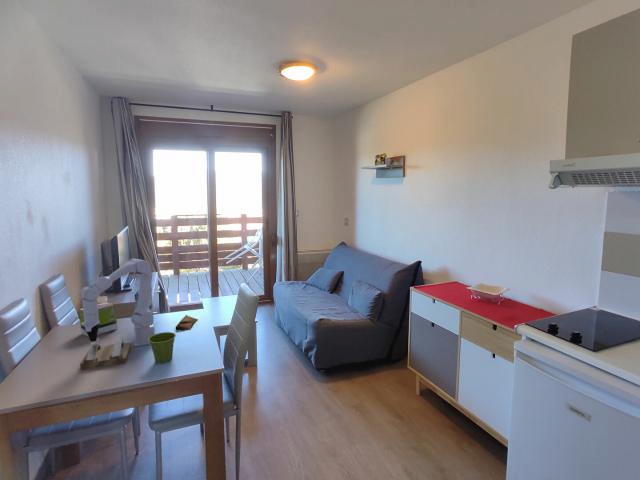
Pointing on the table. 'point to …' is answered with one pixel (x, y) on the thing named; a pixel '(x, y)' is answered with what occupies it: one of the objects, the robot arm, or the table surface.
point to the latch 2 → (117, 346)
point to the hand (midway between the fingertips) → (93, 341)
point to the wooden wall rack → (106, 356)
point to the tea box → (102, 318)
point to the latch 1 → (93, 350)
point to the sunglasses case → (186, 323)
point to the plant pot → (162, 346)
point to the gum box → (149, 303)
